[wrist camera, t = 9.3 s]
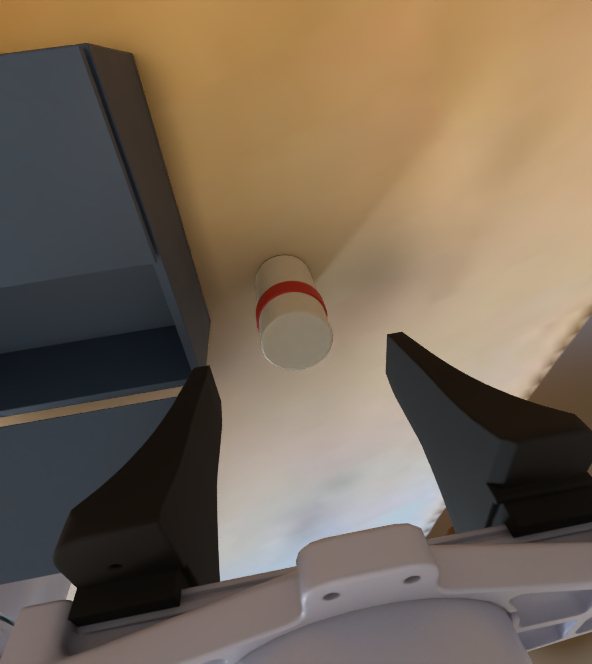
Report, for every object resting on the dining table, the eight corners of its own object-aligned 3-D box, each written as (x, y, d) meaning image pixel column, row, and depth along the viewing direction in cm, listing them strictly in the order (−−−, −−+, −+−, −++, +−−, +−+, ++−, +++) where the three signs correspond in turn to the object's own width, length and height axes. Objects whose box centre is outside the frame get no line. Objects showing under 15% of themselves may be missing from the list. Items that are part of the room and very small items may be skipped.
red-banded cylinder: (314, 301, 22) (337, 365, 17) (258, 311, 22) (265, 378, 17) (309, 248, 20) (333, 303, 15) (248, 258, 20) (252, 316, 15)
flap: (202, 392, 17) (203, 392, 17) (-132, 449, 16) (-125, 449, 17) (216, 543, 15) (218, 541, 15) (-158, 615, 14) (-150, 612, 15)
